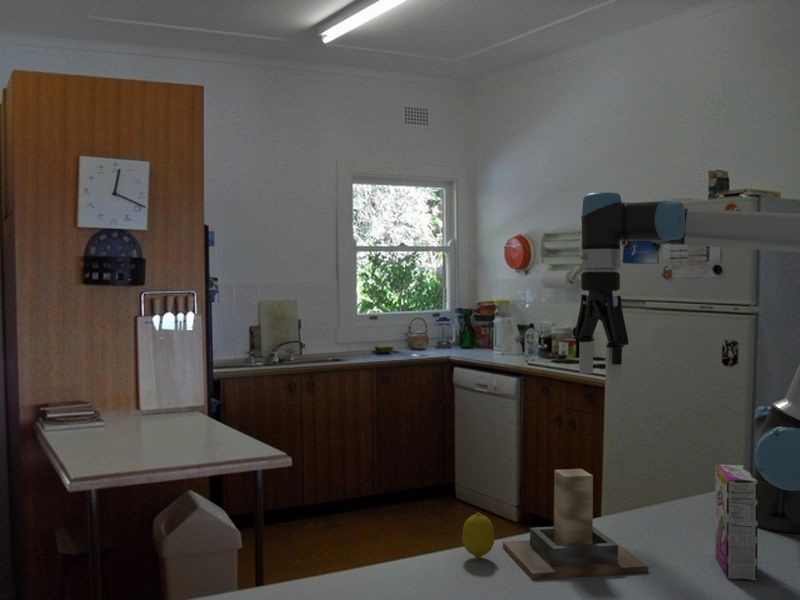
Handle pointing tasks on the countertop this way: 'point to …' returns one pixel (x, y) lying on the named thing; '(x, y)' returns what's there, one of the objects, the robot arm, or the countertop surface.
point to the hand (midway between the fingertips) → (599, 377)
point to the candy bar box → (736, 521)
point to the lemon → (478, 535)
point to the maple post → (573, 507)
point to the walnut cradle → (571, 556)
